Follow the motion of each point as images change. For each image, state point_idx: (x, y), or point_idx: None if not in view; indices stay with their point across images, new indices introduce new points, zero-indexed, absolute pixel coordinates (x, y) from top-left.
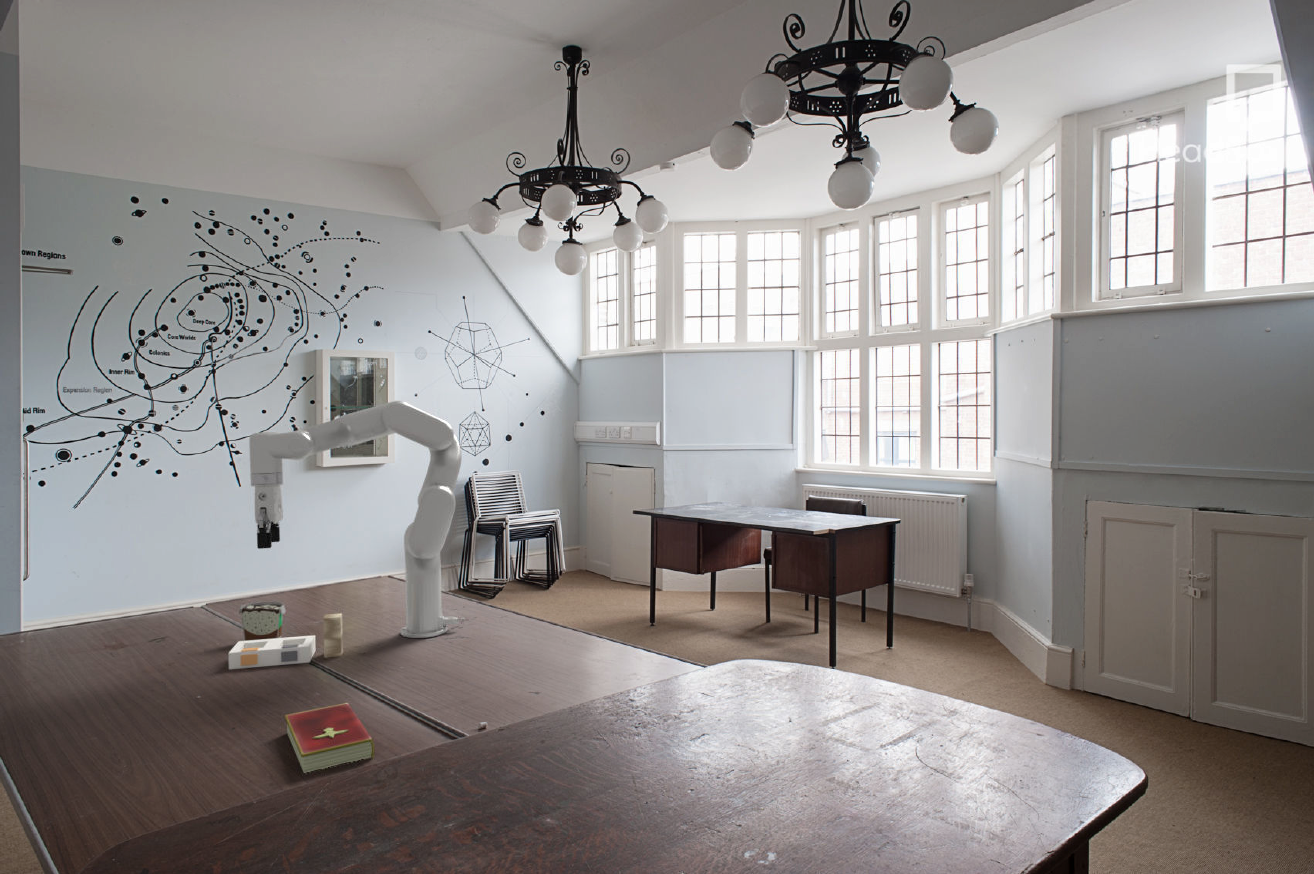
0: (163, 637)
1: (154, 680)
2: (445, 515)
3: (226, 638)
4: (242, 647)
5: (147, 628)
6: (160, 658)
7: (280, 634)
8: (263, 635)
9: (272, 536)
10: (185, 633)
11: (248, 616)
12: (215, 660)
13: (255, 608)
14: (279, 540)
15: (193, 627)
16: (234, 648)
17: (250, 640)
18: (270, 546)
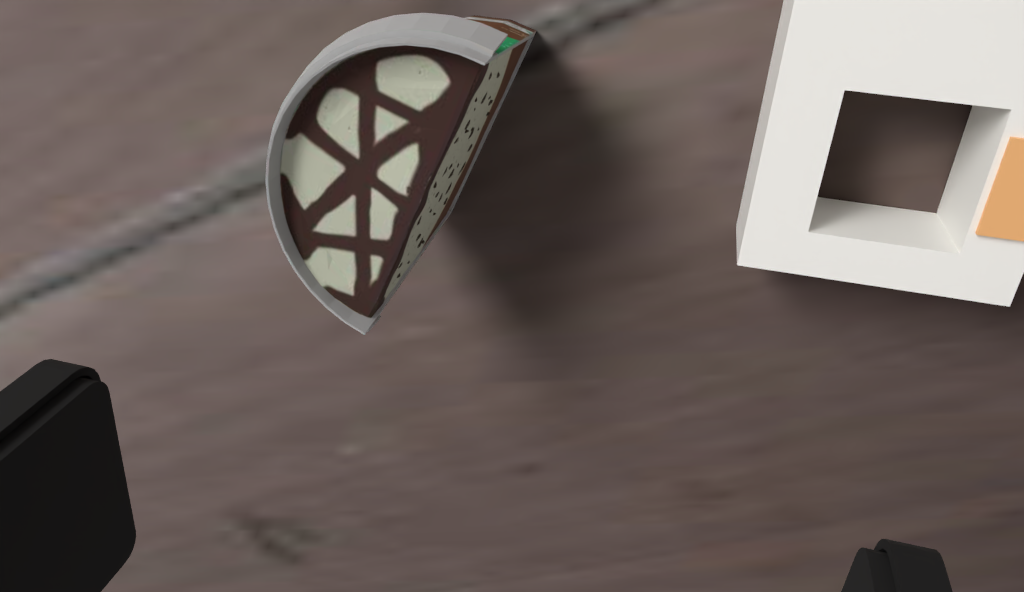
0: (247, 524)
1: (958, 539)
2: None
3: None
4: (861, 234)
5: None
6: (586, 527)
7: (492, 22)
8: (483, 127)
9: (46, 545)
10: (201, 457)
11: (408, 256)
12: (745, 329)
13: (384, 236)
14: (79, 369)
15: None
16: (911, 279)
17: (752, 200)
18: (939, 570)
